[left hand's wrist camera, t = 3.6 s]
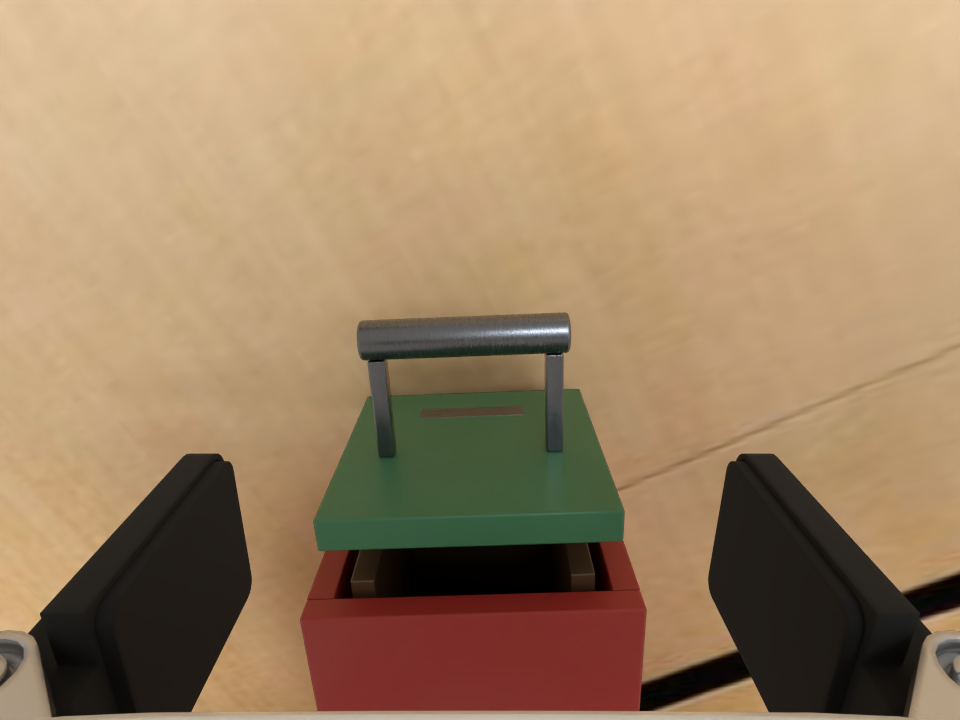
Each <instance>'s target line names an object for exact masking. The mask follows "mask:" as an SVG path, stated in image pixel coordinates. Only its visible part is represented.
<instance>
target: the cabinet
mask: <svg viewBox="0 0 960 720" xmlns="http://www.w3.org/2000/svg"><path fill="white" fill-rule="evenodd" d="M587 544H588V548H589V552H590V556H591V560H592V564H593V568H594V572H595V591H588V592H555V593H521V594H488V595H455V596H421V597H388V598H354V599H353V595H352V588H351V578H352V575H353V572H354V568H355V565H356V561H357V558H358V555H359V551H360V550H339V551H325V554H324V556H323V559H322V562H321V564H320V567H319V570H318V572H317V575H316V578H315V580H314V583H313V585H312V588H311V591H310V593H309V596H308V601H307V602H306V605H305V608H304V610H303V613H302V616H301V618H300V623H301V628H302V633H303V638H304V644H305V649H306V654H307V659H308V664H309V669H310V674H311V680H312V685H313V690H314V695H315V700H316V705H317V711H639V708H640V694H641V680H642V666H643V652H644V638H645V625H646V611H647V610H646V607H645V604H644V601H643V598H642V595H641V592H640V588H639V585H638V583H637V580H636V577H635V574H634V571H633V568H632V565H631V562H630V559H629V556H628V553H627V550H626V547H625V544H624V542H623V541H621V542H591V543H587Z"/></svg>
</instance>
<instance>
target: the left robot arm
mask: <svg viewBox="0 0 960 720" xmlns="http://www.w3.org/2000/svg"><path fill="white" fill-rule="evenodd" d="M251 583H252V577H251V570H250V564H249V558H248V552H247V546H246V541H245V535H244V529H243V523H242V517H241V511H240V506H239V500H238V494H237V488H236V482H235V476H234V470H233V466H232V464H231V463H230V462H229V461H224V460H223V458H222V456H221V455H219V454H186V455H185V456H183V457H182V459H181V460H180V461H179V462H178V463H177V464H176V465H175V466H174V467H173V468H172V470H171V471H170V472H169V473H168V474H167V475H166V476H165V477H164V478H163V479H162V480H161V482H160V483H159V484H158V485H157V486H156V487H155V488H154V489H153V490H152V491H151V493H150V494H149V495H148V496H147V497H146V498H145V499H144V500H143V501H142V502H141V503H140V505H139V506H138V507H137V508H136V509H135V510H134V511H133V512H132V513H131V514H130V516H129V517H128V518H127V519H126V520H125V521H124V522H123V523H122V524H121V525H120V526H119V528H118V529H117V530H116V531H115V532H114V533H113V534H112V535H111V536H110V537H109V538H108V540H107V541H106V542H105V543H104V544H103V545H102V546H101V547H100V548H99V549H98V551H97V552H96V553H95V554H94V555H93V556H92V557H91V558H90V559H89V560H88V561H87V563H86V564H85V565H84V566H83V567H82V568H81V569H80V570H79V571H78V572H77V574H76V575H75V576H74V577H73V578H72V579H71V580H70V581H69V582H68V583H67V584H66V586H65V587H64V588H63V589H62V590H61V591H60V592H59V593H58V594H57V595H56V597H55V598H54V599H53V600H52V601H51V602H50V603H49V604H48V605H47V606H46V607H45V609H44V610H43V611H42V612H41V613H40V616H41V620H40V621H39V622H38V623H37V624H36V625H35V626H34V628H33V629H32V630H31V631H30V632H29V633H28V634H27V633H25V632H23V631H11V630H7V631H0V720H960V631H953V630H949V631H937V632H935V633H933V634H932V633H931V632H930V631H929V630H928V629H927V628H926V626H925V625H924V624H923V623H922V622H921V621H920V620H919V616H920V613H919V612H918V611H917V610H916V609H915V607H914V606H913V605H912V604H911V603H910V602H909V601H908V600H907V599H906V598H905V597H904V595H903V594H902V593H901V592H900V591H899V590H898V589H897V588H896V587H895V586H894V584H893V583H892V582H891V581H890V580H889V579H888V578H887V577H886V576H885V575H884V574H883V572H882V571H881V570H880V569H879V568H878V567H877V566H876V565H875V564H874V563H873V561H872V560H871V559H870V558H869V557H868V556H867V555H866V554H865V553H864V552H863V551H862V549H861V548H860V547H859V546H858V545H857V544H856V543H855V542H854V541H853V540H852V538H851V537H850V536H849V535H848V534H847V533H846V532H845V531H844V530H843V529H842V528H841V526H840V525H839V524H838V523H837V522H836V521H835V520H834V519H833V518H832V517H831V516H830V514H829V513H828V512H827V511H826V510H825V509H824V508H823V507H822V506H821V505H820V503H819V502H818V501H817V500H816V499H815V498H814V497H813V496H812V495H811V494H810V493H809V491H808V490H807V489H806V488H805V487H804V486H803V485H802V484H801V483H800V482H799V480H798V479H797V478H796V477H795V476H794V475H793V474H792V473H791V472H790V471H789V470H788V468H787V467H786V466H785V465H784V464H783V463H782V462H781V461H780V460H779V459H778V457H777V456H775V455H774V454H741V455H739V456H738V458H737V460H736V461H731V462H730V463H729V464H728V466H727V470H726V476H725V482H724V488H723V494H722V500H721V505H720V511H719V517H718V523H717V529H716V535H715V541H714V546H713V552H712V558H711V564H710V570H709V577H708V583H709V590H710V594H711V596H712V599H713V601H714V603H715V605H716V607H717V609H718V611H719V613H720V615H721V617H722V619H723V621H724V623H725V625H726V627H727V629H728V631H729V633H730V635H731V637H732V639H733V641H734V643H735V645H736V647H737V649H738V651H739V653H740V655H741V657H742V659H743V661H744V663H745V665H746V667H747V669H748V671H749V673H750V675H751V677H752V679H753V681H754V683H755V685H756V687H757V689H758V691H759V693H760V695H761V697H762V699H763V701H764V703H765V705H766V707H767V709H768V711H769V712H672V711H288V712H191V711H192V709H193V707H194V705H195V703H196V701H197V699H198V697H199V695H200V693H201V691H202V689H203V687H204V685H205V683H206V681H207V679H208V677H209V675H210V673H211V671H212V669H213V667H214V665H215V663H216V661H217V659H218V657H219V655H220V653H221V651H222V649H223V647H224V645H225V643H226V641H227V639H228V637H229V635H230V633H231V631H232V629H233V627H234V625H235V623H236V621H237V619H238V617H239V615H240V613H241V611H242V609H243V607H244V605H245V603H246V601H247V599H248V596H249V594H250V590H251Z"/></svg>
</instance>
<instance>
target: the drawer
mask: <svg viewBox="0 0 960 720" xmlns="http://www.w3.org/2000/svg"><path fill="white" fill-rule="evenodd" d="M570 346H571V326H570V319H569V315H568V313H542V314H517V315H492V316H467V317H441V318H416V319H391V320H366V321H361V322H359V324H358V328H357V347H358V352H359V356H360V358H361V359H362V360H369V361H368V370H369V378H370V387H371V395H372V397H368V398H367V400H366V402H365V405H364V407H363V409H362V411H361V414H360V416H359V418H358V421H357V423H356V425H355V427H354V430H353V432H352V434H351V436H350V439H349V441H348V443H347V446H346V448H345V450H344V452H343V455H342V457H341V459H340V462H339V464H338V466H337V468H336V471H335V473H334V475H333V478H332V480H331V482H330V484H329V487H328V489H327V491H326V494H325V496H324V498H323V500H322V503H321V505H320V507H319V509H318V512H317V514H316V516H315V519H314V521H313V522H314V528H315V534H316V540H317V546H318V550H319V551H339V550H360V551H359V555H358V558H357V561H356V565H355V568H354V572H353V575H352V578H351V588H352V595H353V599H354V598H388V597H421V596H455V595H488V594H521V593H555V592H588V591H595V572H594V568H593V564H592V560H591V556H590V552H589V548H588V544H587V543H591V542H621V541H623V534H624V515H625V511H624V508H623V506H622V503H621V500H620V498H619V495H618V492H617V489H616V487H615V484H614V481H613V479H612V476H611V473H610V471H609V468H608V465H607V463H606V460H605V457H604V455H603V452H602V449H601V446H600V444H599V441H598V438H597V436H596V433H595V430H594V428H593V425H592V422H591V420H590V417H589V414H588V412H587V409H586V406H585V403H584V401H583V398H582V395H581V393H580V390H579V389H565V390H563V353H567V352H569V350H570ZM544 353H545V390H538V391H511V392H484V393H457V394H430V395H403V396H391V392H390V382H389V373H388V363H387V359H413V358H439V357H465V356H491V355H518V354H544Z"/></svg>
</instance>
